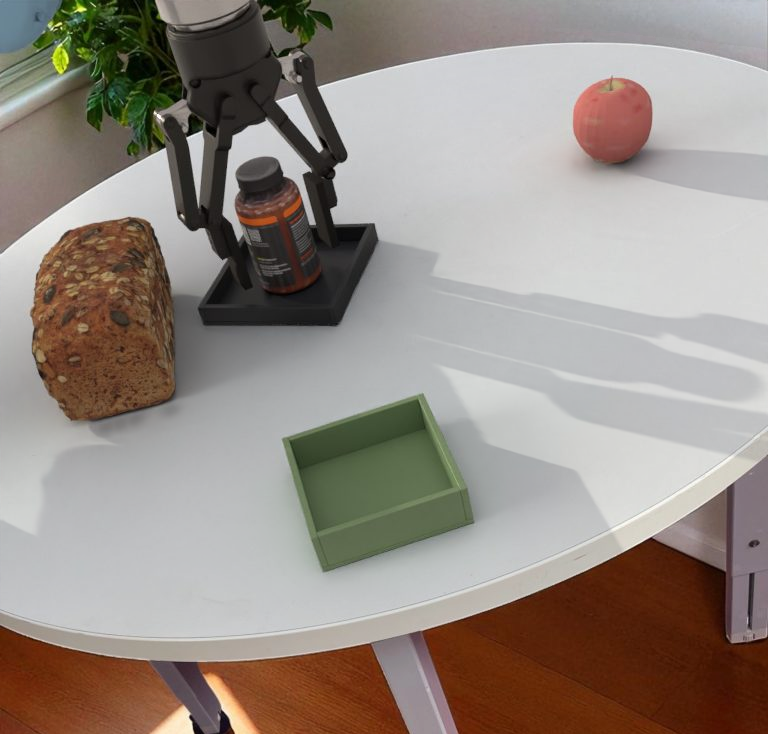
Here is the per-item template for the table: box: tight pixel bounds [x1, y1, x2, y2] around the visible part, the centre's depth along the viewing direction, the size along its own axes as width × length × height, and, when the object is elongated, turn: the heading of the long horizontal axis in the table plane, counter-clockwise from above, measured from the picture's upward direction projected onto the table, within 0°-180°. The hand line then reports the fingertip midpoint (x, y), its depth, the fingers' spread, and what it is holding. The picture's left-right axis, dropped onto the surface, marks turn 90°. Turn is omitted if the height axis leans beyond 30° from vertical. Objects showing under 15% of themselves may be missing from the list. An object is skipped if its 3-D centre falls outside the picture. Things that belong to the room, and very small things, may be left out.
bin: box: [281, 392, 475, 573], centre depth 76 cm, size 11×11×3 cm
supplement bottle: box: [233, 155, 321, 294], centre depth 95 cm, size 6×6×11 cm
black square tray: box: [197, 222, 379, 327], centre depth 99 cm, size 13×13×2 cm
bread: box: [29, 216, 176, 422], centre depth 93 cm, size 19×11×10 cm, turn 9°
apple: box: [572, 75, 653, 164], centre depth 101 cm, size 7×7×8 cm
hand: (286, 261), depth 98 cm, fingers open, 8 cm apart
